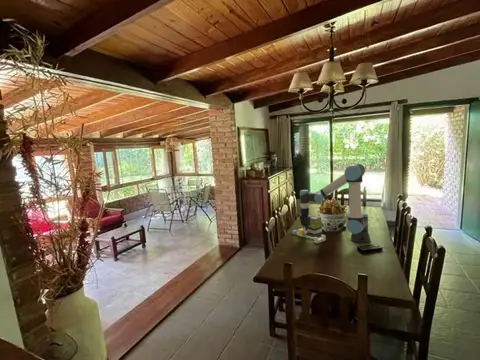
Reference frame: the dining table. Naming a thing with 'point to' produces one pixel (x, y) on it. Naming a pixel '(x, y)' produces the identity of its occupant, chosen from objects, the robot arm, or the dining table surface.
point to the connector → (294, 232)
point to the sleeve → (301, 232)
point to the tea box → (315, 225)
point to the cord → (309, 237)
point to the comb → (319, 239)
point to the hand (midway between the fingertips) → (305, 233)
